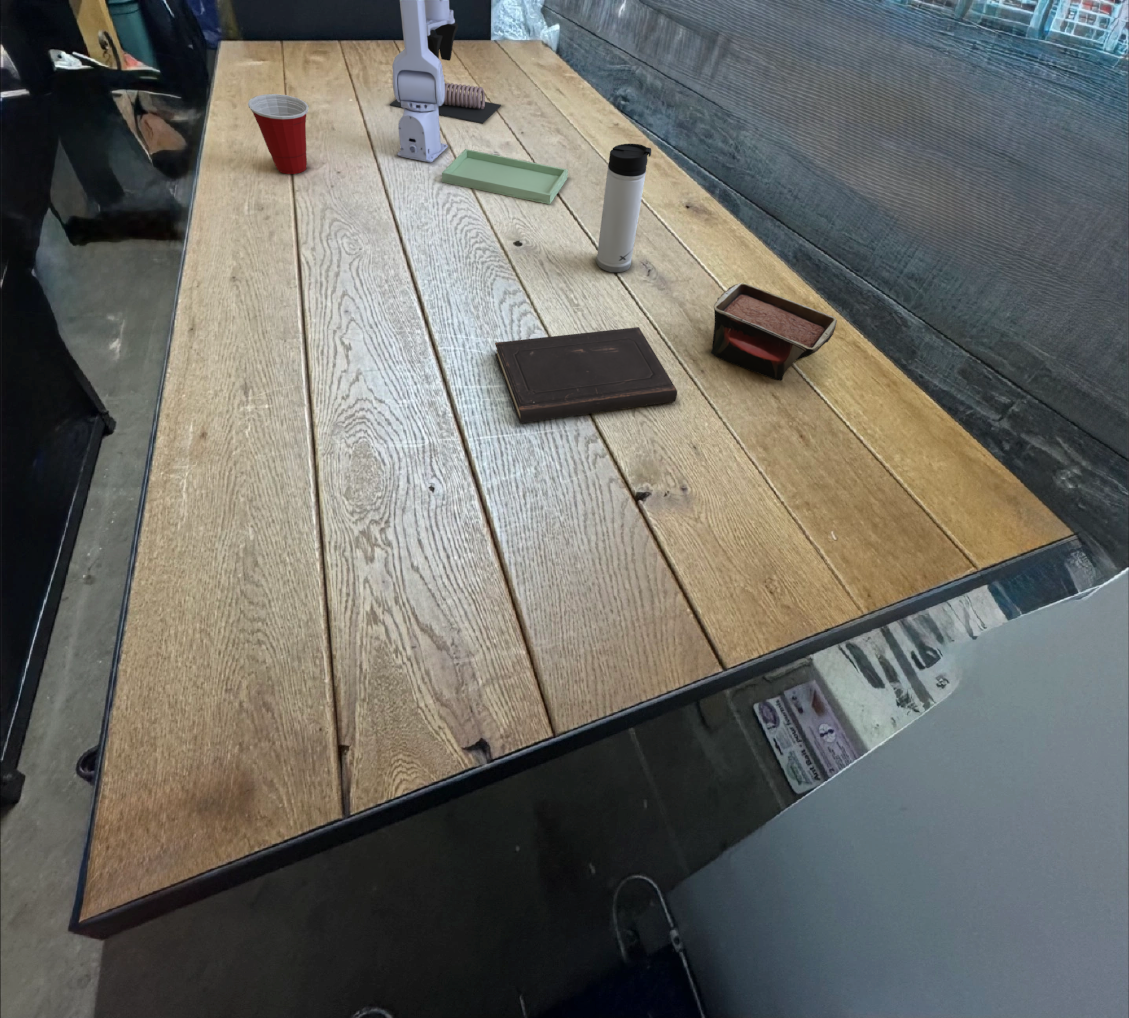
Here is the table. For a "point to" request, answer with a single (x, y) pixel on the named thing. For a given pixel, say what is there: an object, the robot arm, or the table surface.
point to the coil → (460, 98)
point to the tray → (505, 176)
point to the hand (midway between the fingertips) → (439, 64)
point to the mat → (464, 111)
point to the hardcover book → (582, 374)
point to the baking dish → (766, 330)
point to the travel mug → (621, 206)
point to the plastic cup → (283, 129)
